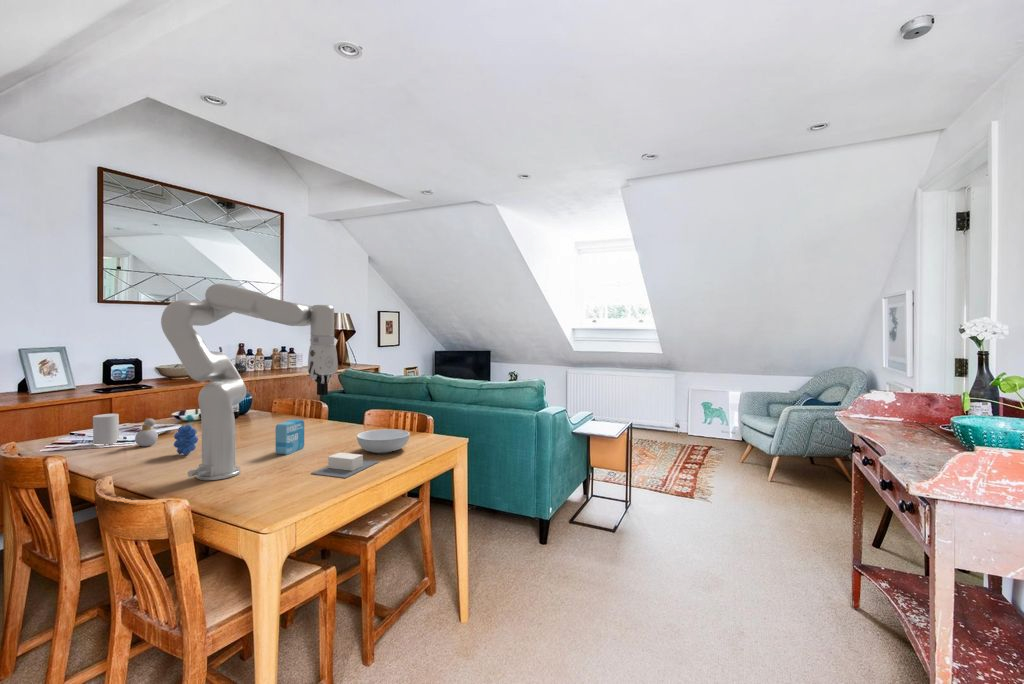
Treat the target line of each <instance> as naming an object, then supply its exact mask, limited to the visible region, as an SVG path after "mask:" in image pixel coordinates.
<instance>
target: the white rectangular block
mask: <svg viewBox="0 0 1024 684" xmlns="http://www.w3.org/2000/svg"><path fill="white" fill-rule="evenodd" d="M363 459H364V455H363V454H358V453H349V452H336V453H335V454H331V455H329V456H328V457H327V461H328V463H327V466H328V468H333V469H342V470H350V471H353V470H355V469H357V468H360V467H362V466H363Z"/></svg>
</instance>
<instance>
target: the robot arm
mask: <svg viewBox="0 0 1024 684" xmlns="http://www.w3.org/2000/svg"><path fill="white" fill-rule="evenodd" d="M204 297H205V298H204V299H203V300H194V299H193V300H192V299H179V300H174V301H173V302H170V303H169V304H168V305H167V306H166V307H165V308H164V310H163V312H162V314H161V318H160V324H161V325H160V326H161V329H162V332H163V334H164V336H165V337H166V339H167V341H168V342H169V343H170V345H171V346H172V348H173V349H174V351H175V353H176V356H177V358H178V359H179V360H180V362H181V364H182V366H183V367H184V369H185V370H186V373H187V375H188V376H189V377H190V378H191V379H193V380H194V381H198V382H204V381H209V383H207V384H205V385H204V386H203V387H202V388H201V389H200V391H199V393H198V397H197V400H198V402H197V403H198V407H199V410H200V419H201V463H199V464H198V467H196V469H192V470H188V471H187V476H188V477H189V478H192V477H194V476H196V479H198V480H200V481H216V480H217V481H218V480H223V479H224V480H225V479H230V478H232V477H235V476H237V475H239V474H240V473H241V471H242V470H241V467H239V466H236V419H235V413H234V410H233V406H235V405H238V404H240V403H241V402H243V401H244V399H245V398H246V397H247V393H248V392H247V386H246V384H245V382H244V380H243V378H242V376H241V375H240V373H239V372H238V369H237V368H236V366H235V364H234V363H233V361H232V359H230V357H228V355H226V354H225V353H223V352H221V351H211V350H210V349H209V348H208V346H207V344H206V343H205V341H204V339H203V338H202V336H201V335H200V334H199V332H197V331H196V330H195V329H194V327H193V326H198V327H199V326H209V325H211V324H213V323H215V322H217V321H219V320H221V319H224V318H225V317H227V316H229V315H231V314H232V313H235V314H240V315H243V316H247V317H251V318H256V319H260V320H264V321H267V322H268V321H269V322H273V323H276V324H281V325H286V326H291V327H307V326H310V339H309V341H310V345H309V349H308V355H307V356H308V358H307V372H308V374H309V379H311V380H314V382H315V384H316V395H317V396H328V394H329V393H328V392H329V391H328V390H329V389H328V388H329V383H330V379H331V378H332V377H334V376H335V374H336V373H337V372H338V369H339V363H338V353H337V347H336V344H335V308H334V306H332V305H330V304H327V305H326V304H314V305H308V304H302V303H297V302H290V301H285V300H281V299H278V298H273V297H269V296H266V295H264V293H262V292H259V291H254V290H251V289H250V290H249V289H247V288H242V287H238V286H237V285H236V286H235V285H232V284H227V283H213V284H210V286H208V287H207V289H206V290H205V294H204Z"/></svg>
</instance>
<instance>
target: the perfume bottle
mask: <svg viewBox="0 0 1024 684" xmlns="http://www.w3.org/2000/svg"><path fill="white" fill-rule="evenodd" d="M155 424H156V420H155V419H154V418H148V417H146V418H145V419H144V421H143V424H141V426H142V427H141V430H139V431H138V432H137V433H136V434H135V437H134V441H135V443H136V445H138V446H139V447H151V446H153V445H154V444H156V443H157V441H158V439H159V434H158V432H157V431H156V430H155V429H153V428H152V427H153V426H154V425H155Z"/></svg>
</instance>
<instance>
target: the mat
mask: <svg viewBox="0 0 1024 684" xmlns="http://www.w3.org/2000/svg"><path fill="white" fill-rule="evenodd" d="M380 462H381V461H380V460H373V459H372V460H371V459H364V458H363V466H362V467H360V468H357V469H355V470H353V471H350V470H342V469H333V468H328V465H327V466H324V467H322V468H320V469H319V468H318V469H317V470H315V471H312V472H311V473H310V475H317V476H324V477H332V478H341V479H348V478H349V477H352V476H354V475H356V474H358V473H361V472H363V471H364V470H366V469H368V468H370V467H373V466H374V465H377V464H378V463H380Z"/></svg>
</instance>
